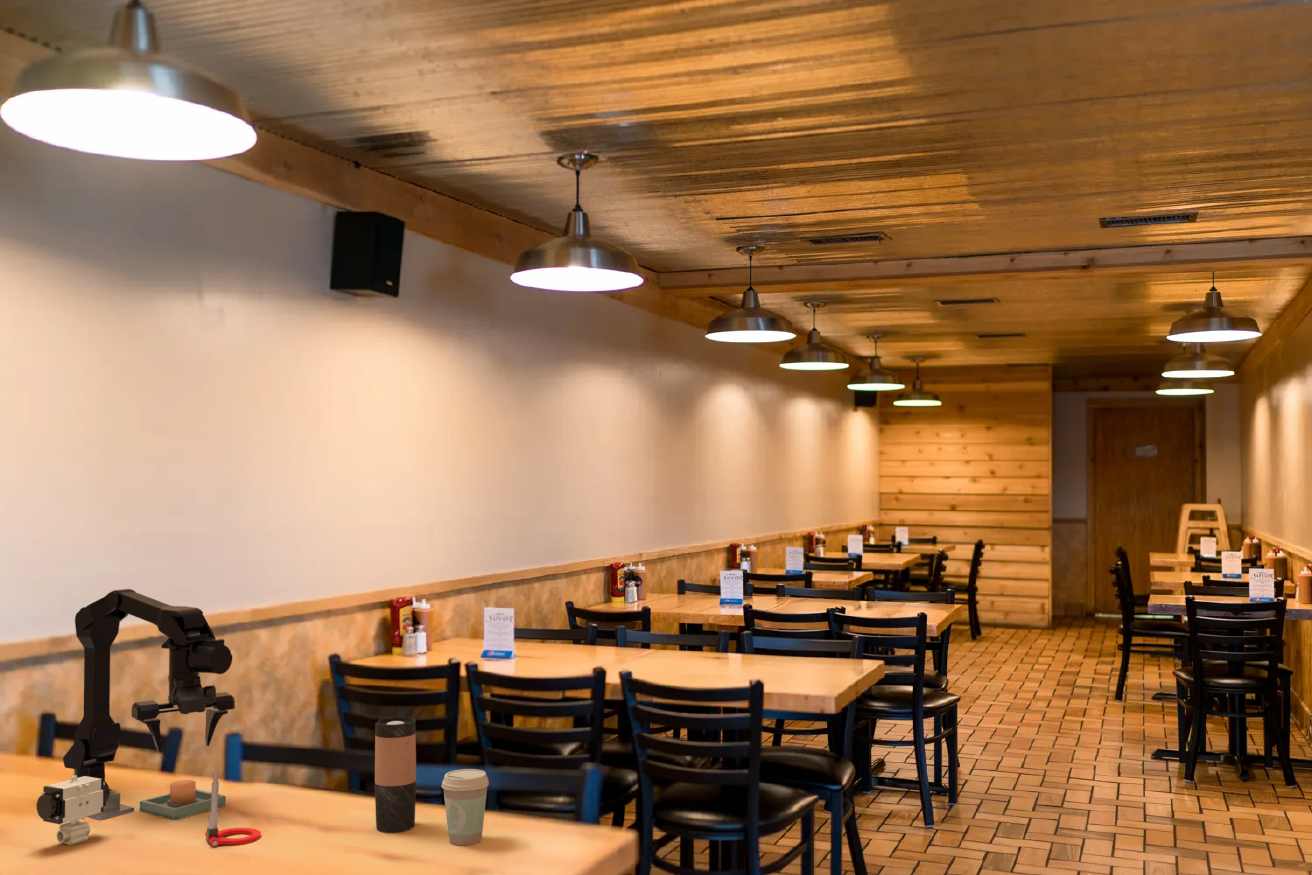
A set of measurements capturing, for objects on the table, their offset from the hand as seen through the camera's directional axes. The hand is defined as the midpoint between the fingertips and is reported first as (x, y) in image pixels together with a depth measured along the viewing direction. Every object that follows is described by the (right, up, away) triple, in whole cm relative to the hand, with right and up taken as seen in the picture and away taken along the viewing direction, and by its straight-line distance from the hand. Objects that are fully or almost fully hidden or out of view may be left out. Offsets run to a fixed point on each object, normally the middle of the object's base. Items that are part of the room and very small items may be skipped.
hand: (183, 748), depth 232 cm
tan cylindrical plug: (0, -11, -1) cm, 11 cm away
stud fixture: (-14, -12, -3) cm, 18 cm away
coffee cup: (+61, -11, -23) cm, 66 cm away
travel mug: (+46, -11, -14) cm, 50 cm away
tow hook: (+18, -11, -21) cm, 30 cm away
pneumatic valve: (-11, -11, -22) cm, 27 cm away
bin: (0, -12, -1) cm, 12 cm away
